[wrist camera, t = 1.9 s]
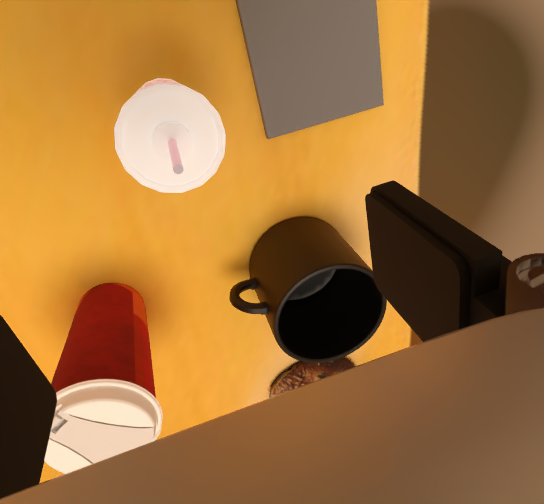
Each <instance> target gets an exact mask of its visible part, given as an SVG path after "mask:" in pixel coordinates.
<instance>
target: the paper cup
mask: <svg viewBox="0 0 544 504" xmlns="http://www.w3.org/2000/svg"><path fill="white" fill-rule="evenodd" d="M51 385H52V386H53V388H54V390H55V392H56V396H57V405H56V410H55V414H54V419H53V423H52V428H51V432H50V437H49V441H48V446H47V450H46V455H45V459H44V460H45V462H46V463H47V464H48V465H50V466H51V467H52V468H54V469H56V470H58V471H60V472H62V473H65V474H67V473H69V472H72V471H75V470H77V469H80V468H83V467H85V466H88V465H91V464H93V463H96V462H99V461H101V460H104V459H107V458H110V457H112V456H115V455H118V454H120V453H123V452H126V451H128V450H131V449H134V448H137V447H139V446H142V445H145V444H147V443H150V442H153V441H155V440H156V438H157V437H158V435H159V434H160V431H161V424H162V410H161V406H160V404H159V402H158V401H157V399H156V396H155V387H154V378H153V369H152V360H151V350H150V342H149V333H148V325H147V317H146V310H145V305H144V302H143V299H142V297H141V296H140V295H139V293H138V292H136V291H135V290H134V289H132V288H131V287H129V286H126V285H123V284H118V283H107V284H102V285H99V286H96V287H94V288H92V289H91V290H89V291H88V292H87V293H86V294H85V295H84V296H83V298H82V299H81V301H80V303H79V306H78V308H77V311H76V314H75V316H74V319H73V322H72V325H71V328H70V331H69V334H68V337H67V340H66V343H65V346H64V349H63V352H62V355H61V357H60V360H59V363H58V366H57V369H56V371H55V374H54V377H53V380H52V383H51Z"/></svg>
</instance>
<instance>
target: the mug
mask: <svg viewBox="0 0 544 504" xmlns="http://www.w3.org/2000/svg"><path fill="white" fill-rule="evenodd" d="M249 271H250V277H251V278H250V279H249V280H245V281H242V282H239V283H238V284H236V285H235V286H233V288H232V289H231V291H230V302H231V303H232V305H233V306H234V307H235V308H237V309H239V310H240V311H243V312H246V313H250V314H262V315H263V314H265V315H266V318H267V320H268V323H269V325H270V327H271V330H272V332H273V335H274V337H275V339H276V341H277V343H278V345H279V346H280V348H281V349H282V350H283V351H284V352H285V353H286V354H288V355H289V356H291V357H293V358H294V359H296V360H300V361H303V362H309V363H323V362H329V361H333V360H337V359H339V358H342V357H345V356H347V355H349V354H350V353H352V352H354V351H355V350H357V349H359V348H360V347H361V346H362V345H364V344H365V343H366V342H367V341H368V340H369V339H370V338H371V337H372V336H373V334H374V333H375V332H376V330H377V329H378V327H379V326H380V324H381V322H382V319H383V317H384V314H385V310H386V303H387V300H386V298H385V297H384V296H383V295H382V293H381V292H380V291H379V290H378V288H377V286H376V284H375V281H374V277H373V271H372V270H371V269H370V268H369V266H368V265H367V264H366V263H365V262H364V261H363V260H362V259H361V258H360V256H359V255H358V254H357V253H356V252H355V251H354V250H353V249H352V248H351V246H350V245H349V244H348V243H347V242H346V241H345V240H344V239H343V238H342V236H341V235H340V234H339V233H338V232H337V231H336V230H335V229H334V228H333V227H332V226H331V225H329V224H328V223H326V222H324V221H322V220H319V219H315V218H306V217H305V218H294V219H290V220H287V221H284V222H282V223H280V224H278V225H276V226H274V227H273V228H271V229H270V230H269V231H268V232H267V233H265V234H264V236H263V237H262V238H261V239H260V240H259V242H258V243H257V245H256V247H255V249H254V251H253V253H252V256H251V260H250V267H249ZM247 289H252V290H254V289H255V291H256V293H257V296H258V298H259V301H260V303H249V302H246V301H244V300H242V299H241V298H240V296H239V294H240V293H241V292H243V291H245V290H247Z"/></svg>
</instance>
